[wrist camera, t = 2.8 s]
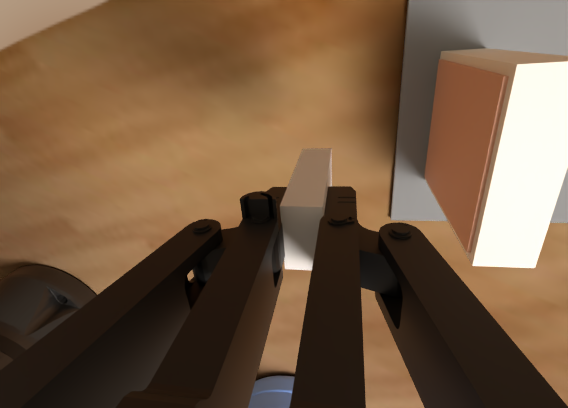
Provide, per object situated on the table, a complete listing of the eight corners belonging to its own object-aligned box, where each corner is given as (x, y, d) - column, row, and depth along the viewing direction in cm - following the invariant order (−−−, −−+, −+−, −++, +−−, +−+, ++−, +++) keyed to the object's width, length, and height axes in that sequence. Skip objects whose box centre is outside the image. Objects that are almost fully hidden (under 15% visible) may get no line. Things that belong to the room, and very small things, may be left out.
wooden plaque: (422, 179, 28) (468, 265, 18) (438, 51, 24) (511, 64, 13) (462, 179, 28) (534, 268, 17) (486, 48, 23) (602, 59, 13)
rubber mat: (390, 217, 31) (390, 220, 31) (408, -10, 23) (410, -11, 23) (641, 221, 28) (646, 224, 27) (765, -46, 20) (775, -47, 19)
